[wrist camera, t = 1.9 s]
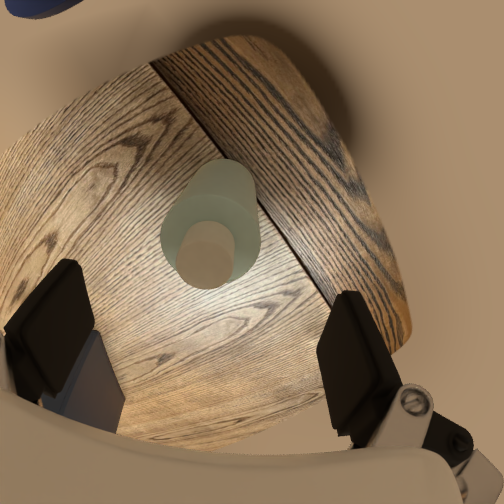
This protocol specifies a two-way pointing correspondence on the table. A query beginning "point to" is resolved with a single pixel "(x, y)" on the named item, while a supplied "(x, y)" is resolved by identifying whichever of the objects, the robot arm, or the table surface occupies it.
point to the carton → (90, 389)
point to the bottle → (213, 226)
